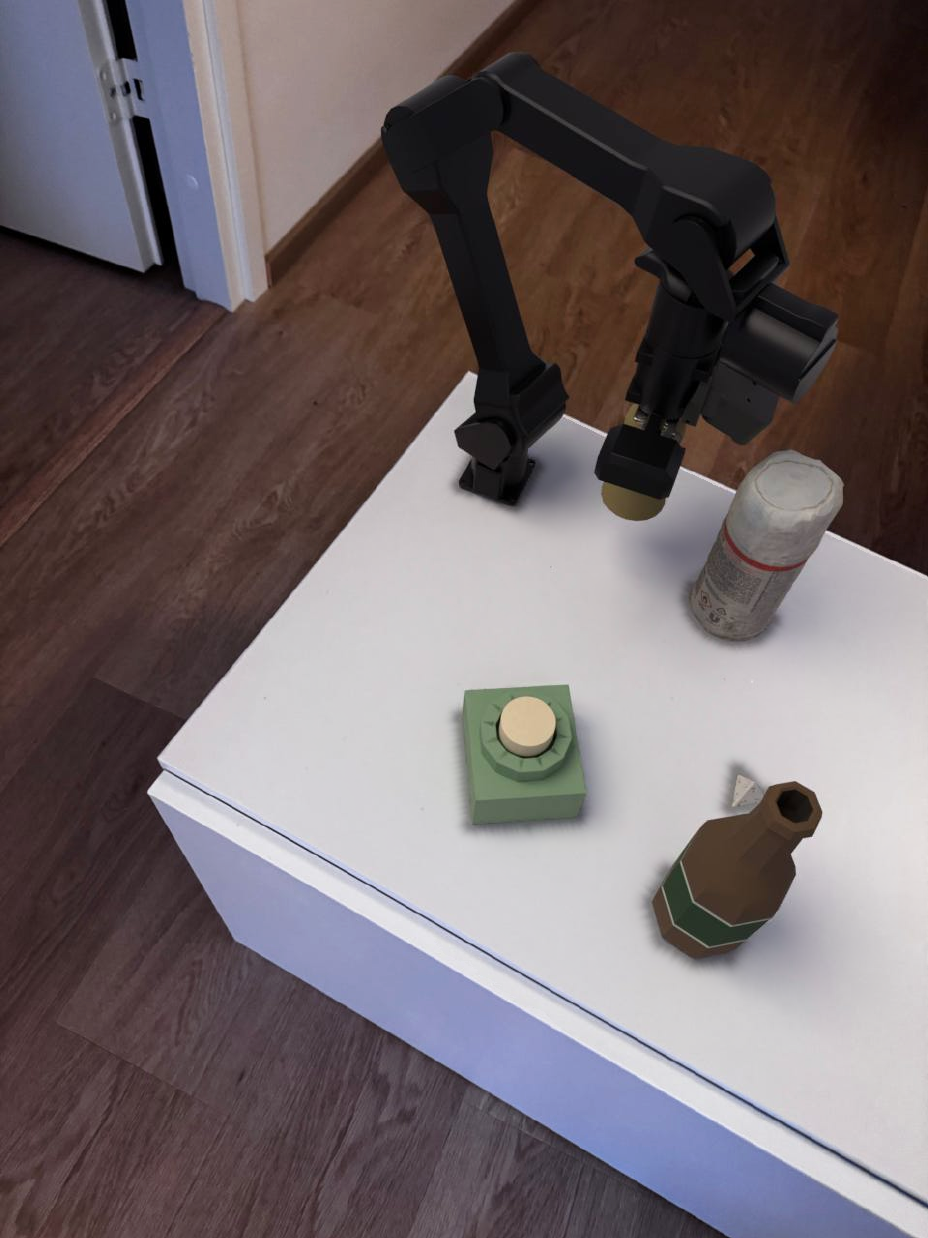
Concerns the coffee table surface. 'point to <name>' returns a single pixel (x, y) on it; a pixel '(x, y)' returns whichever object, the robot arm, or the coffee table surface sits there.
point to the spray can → (764, 543)
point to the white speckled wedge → (746, 792)
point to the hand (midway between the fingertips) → (643, 468)
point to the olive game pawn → (629, 501)
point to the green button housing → (521, 760)
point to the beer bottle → (735, 873)
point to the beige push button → (527, 726)
